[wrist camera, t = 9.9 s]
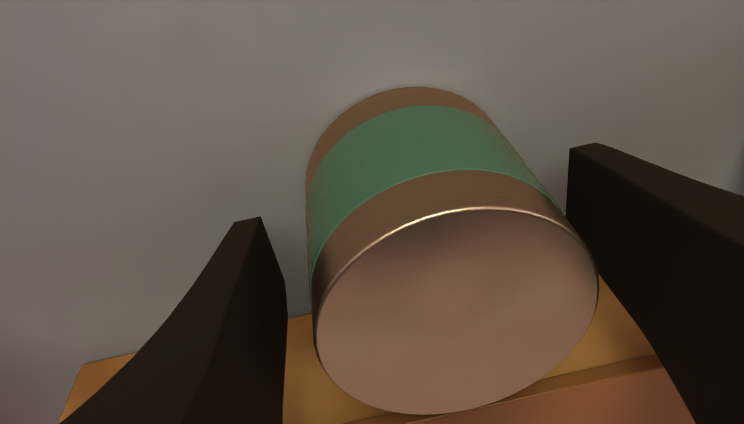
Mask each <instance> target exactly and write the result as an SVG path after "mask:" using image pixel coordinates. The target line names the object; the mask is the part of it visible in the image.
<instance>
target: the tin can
mask: <svg viewBox="0 0 744 424" xmlns="http://www.w3.org/2000/svg"><path fill="white" fill-rule="evenodd" d="M305 186H306V225H307V246H308V267H309V288H310V301H311V307H312V328H313V344H314V348H315V351H316V355H317V358H318V360H319V362H320V364H321V366H322V368H323V370H324V371H325V372H326V374H327V375H328V376H329V378H330V379H331V380H332V381H333V382H334V383H335V384H336V385H337V386H338V387H339V388H340V389H341V390H342V391H344V392H345V393H347V394H348V395H349V396H351V397H353V398H355V399H357V400H358V401H360V402H362V403H365V404H367V405H370V406H372V407H375V408H378V409H382V410H386V411H390V412H397V413H403V414H416V415H431V414H445V413H453V412H459V411H464V410H469V409H473V408H477V407H480V406H484V405H487V404H490V403H493V402H496V401H499V400H501V399H503V398H506V397H508V396H510V395H513V394H515V393H517V392H518V391H520V390H522V389H524V388H526V387H528V386H530V385H531V384H533V383H534V382H536V381H537V380H539V379H541V378H542V377H543V376H545V375H546V374H547V373H549V372H550V371H551V370H553V369H554V368H555V367H556V366H557V365H558V364H560V363H561V362H562V361H563V360H564V359H565V358H566V357H567V356H568V355H569V354H570V353H571V351H572V350H573V349H574V348H575V347H576V346H577V344H578V343H579V341H580V340H581V339H582V337H583V336H584V334H585V333H586V331H587V329H588V327H589V325H590V323H591V321H592V319H593V316H594V313H595V311H596V307H597V303H598V298H599V277H598V271H597V266H596V263H595V261H594V258H593V255H592V253H591V252H590V250H589V249H588V247H587V245H586V244H585V242H584V241H583V240H582V238H581V237H580V236H579V234H578V233H577V232H576V230H575V229H574V228H573V227H572V225H571V224H570V223H569V221H568V220H567V219H566V217H565V216H564V214H563V213H562V211H561V210H560V208H559V207H558V205H557V204H556V202H555V201H554V200H553V198H552V197H551V196H550V195H549V193H548V192H547V191H546V189H545V188H544V187H543V185H542V184H541V183H540V182H539V180H538V179H537V178H536V176H535V175H534V174H533V172H532V171H531V170H530V168H529V167H528V166H527V165H526V163H525V162H524V161H523V159H522V158H521V157H520V155H519V154H518V153H517V152H516V150H515V149H514V148H513V146H512V145H511V144H510V142H509V141H508V140H507V139H506V138H505V136H504V135H503V134H502V133H501V132H500V131H499V129H498V128H497V127H496V126H495V124H494V123H493V122H492V120H491V119H490V118H489V117H488V116H487V115H486V114H485V113H484V111H482V110H481V109H480V108H479V107H477V106H476V105H475V104H474V103H472V102H470V101H469V100H467V99H465V98H463V97H462V96H459V95H457V94H454V93H452V92H449V91H444V90H440V89H436V88H427V87H407V88H400V89H394V90H390V91H386V92H383V93H379V94H376V95H374V96H372V97H369V98H367V99H365V100H363V101H361V102H359V103H358V104H356V105H354V106H352V107H351V108H349V109H348V110H347V111H346V112H344V113H343V114H342V115H340V116H339V117H338V118H337V119H336V120H335V121H334V122H333V123H332V124H331V125H330V126H329V127H328V128H327V130H326V131H325V132H324V134H323V135H322V136H321V138H320V139H319V141H318V143H317V144H316V146H315V148H314V150H313V153H312V155H311V157H310V160H309V164H308V168H307V172H306V182H305Z"/></svg>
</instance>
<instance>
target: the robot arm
mask: <svg viewBox="0 0 744 424" xmlns="http://www.w3.org/2000/svg"><path fill="white" fill-rule="evenodd" d="M566 219H567V220H568V221H569V223H570V224H571V225H572V227H573V228H574V229H575V230H576V232H577V233H578V234H579V236H580V237H581V238H582V240H583V241H584V242H585V244H586V245H587V247H588V249H589V250H590V252H591V253H592V255H593V258H594V261H595V263H596V266H597V271H598V274H599V275H600V277H601V278H602V279H603V281H604V282H605V283H606V285H607V286H608V287H609V289H610V290H611V291H612V293H613V294H614V295H615V296H616V298H617V299H618V300H619V302H620V303H621V304H622V306H623V307H624V308H625V310H626V311H627V312H628V314H629V315H630V316H631V318H632V319H633V320H634V322H635V323H636V324H637V326H638V327H639V328H640V330H641V331H642V333H643V334H644V336H645V337H646V339H647V340H648V342H649V343H650V345H651V346H652V348H653V350H654V351H655V353H656V355H657V356H658V358H659V360H660V361H661V363H662V365H663V367H664V368H665V370H666V372H667V373H668V375H669V377H670V378H671V380H672V382H673V384H674V385H675V387H676V389H677V391H678V392H679V394H680V396H681V398H682V400H683V401H684V403H685V405H686V407H687V409H688V410H689V412H690V414H691V416H692V418H693V419H694V421H695V423H696V424H744V196H741V195H738V194H734V193H731V192H728V191H725V190H722V189H719V188H716V187H713V186H710V185H707V184H704V183H702V182H699V181H696V180H693V179H691V178H688V177H685V176H683V175H680V174H677V173H675V172H672V171H670V170H667V169H664V168H662V167H659V166H657V165H654V164H652V163H649V162H647V161H644V160H642V159H639V158H637V157H634V156H632V155H629V154H627V153H624V152H622V151H619V150H616V149H614V148H611V147H608V146H605V145H602V144H599V143H592V144H587V145H583V146H578V147H574V148H570V150H569V167H568V185H567V202H566ZM287 327H288V315H287V300H286V289H285V281H284V278H283V275H282V273H281V270H280V267H279V265H278V262H277V259H276V257H275V254H274V251H273V248H272V246H271V243H270V240H269V238H268V235H267V232H266V230H265V227H264V224H263V222H262V219H261V216H260V217H256V218H251V219H247V220H242V221H238V222H234V224H233V225H232V227H231V228H230V230H229V231H228V233H227V234H226V236H225V237H224V239H223V240H222V242H221V243H220V245H219V246H218V248H217V250H216V251H215V253H214V254H213V256H212V257H211V259H210V260H209V262H208V264H207V265H206V267H205V268H204V269H203V271H202V272H201V274H200V275H199V277H198V278H197V280H196V281H195V283H194V284H193V286H192V287H191V288H190V290H189V291H188V292H187V294H186V295H185V296H184V298H183V299H182V300H181V302H180V303H179V304H178V306H177V307H176V308H175V309H174V311H173V312H172V313H171V315H170V316H169V317H168V318H167V320H166V321H165V322H164V323H163V324H162V326H161V327H160V328H159V329H158V330H157V331H156V333H155V334H154V335H153V336H152V337H151V338H150V339H149V340H148V341H147V342H146V344H145V345H144V346H143V347H142V348H141V349H140V350H139V351H138V352H137V353H136V354H135V355H134V356H133V357H132V358H131V359H130V360H129V361H128V362H127V363H126V364H125V365H124V366H123V367H122V368H121V369H120V370H119V371H118V372H117V373H116V374H115V375H114V376H113V377H112V378H111V379H109V380H108V381H107V382H106V383H105V384H104V385H103V386H102V387H101V388H100V389H99V390H98V391H97V392H96V393H95V394H94V395H92V396H91V397H90V398H89V399H88V400H87V401H85V402H84V403H83V404H82V405H81V406H80V407H79V408H77V409H76V410H75V411H74V412H73V413H71V414H70V415H69V416H68V417H67V418H65V419H64V420H63V421H62V422H60V423H59V424H283V397H284V380H285V363H286V346H287Z"/></svg>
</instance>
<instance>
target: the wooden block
mask: <svg viewBox="0 0 744 424" xmlns="http://www.w3.org/2000/svg"><path fill="white" fill-rule="evenodd" d="M598 277H599V298H598V303H597V307H596V311H595V313H594V316H593V319H592V321H591V323H590V325H589V327H588V329H587V331H586V333H585V334H584V336H583V337H582V339H581V340H580V341H579V343H578V344H577V346H576V347H575V348H574V349H573V350H572V351H571V353H570V354H569V355H568V356H567V357H566V358H565V359H564V360H563V361H562V362H561V363H560V364H558V365H557V366H556V367H555V368H554V369H553V370H551V371H550V372H549V373H547V374H546V375H545V376H543V377H542V378H541V379H539V380H537V381H536V382H534V383H533V384H531V385H530V386H528V387H526V388H524V389H522V390H520V391H518V392H517V393H515V394H513V395H510V396H508V397H506V398H503V399H501V400H499V401H496V402H493V403H490V404H487V405H484V406H480V407H477V408H473V409H469V410H464V411H459V412H453V413H445V414H431V415H416V414H403V413H397V412H390V411H386V410H382V409H378V408H375V407H372V406H370V405H367V404H365V403H362V402H360V401H358V400H357V399H355V398H353V397H351V396H349V395H348V394H347V393H345V392H344V391H342V390H341V389H340V388H339V387H338V386H337V385H336V384H335V383H334V382H333V381H332V380H331V379H330V378H329V376H328V375H327V374H326V372H325V371H324V370H323V368H322V366H321V364H320V362H319V360H318V358H317V355H316V351H315V348H314V344H313V328H312V314H308V315H303V316H299V317H294V318H290V319H288V327H287V346H286V363H285V380H284V397H283V424H696V423H695V421H694V419H693V418H692V416H691V414H690V412H689V410H688V409H687V407H686V405H685V403H684V401H683V400H682V398H681V396H680V394H679V392H678V391H677V389H676V387H675V385H674V384H673V382H672V380H671V378H670V377H669V375H668V373H667V372H666V370H665V368H664V367H663V365H662V363H661V361H660V360H659V358H658V356H657V355H656V353H655V351H654V350H653V348H652V346H651V345H650V343H649V342H648V340H647V339H646V337H645V336H644V334H643V333H642V331H641V330H640V328H639V327H638V326H637V324H636V323H635V322H634V320H633V319H632V318H631V316H630V315H629V314H628V312H627V311H626V310H625V308H624V307H623V306H622V304H621V303H620V302H619V300H618V299H617V298H616V296H615V295H614V294H613V293H612V291H611V290H610V289H609V287H608V286H607V285H606V283H605V282H604V281H603V279H602V278H601V277H600V275H599V274H598ZM136 353H137V352H136ZM136 353H132V354H127V355H123V356H118V357H114V358H109V359H105V360H100V361H96V362H91V363H87V364H83V365H82V366H81V369H80V371H79V373H78V376H77V378H76V381H75V383H74V386H73V388H72V391H71V393H70V396H69V398H68V401H67V403H66V405H65V408H64V410H63V413H62V415H61V418H60V420H59V423H60V422H62V421H63V420H64V419H65V418H67V417H68V416H69V415H70V414H71V413H73V412H74V411H75V410H76V409H77V408H79V407H80V406H81V405H82V404H83V403H84V402H85V401H87V400H88V399H89V398H90V397H91V396H92V395H94V394H95V393H96V392H97V391H98V390H99V389H100V388H101V387H102V386H103V385H104V384H105V383H106V382H107V381H108V380H109V379H111V378H112V377H113V376H114V375H115V374H116V373H117V372H118V371H119V370H120V369H121V368H122V367H123V366H124V365H125V364H126V363H127V362H128V361H129V360H130V359H131V358H132V357H133V356H134V355H135V354H136ZM59 423H58V424H59Z"/></svg>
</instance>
